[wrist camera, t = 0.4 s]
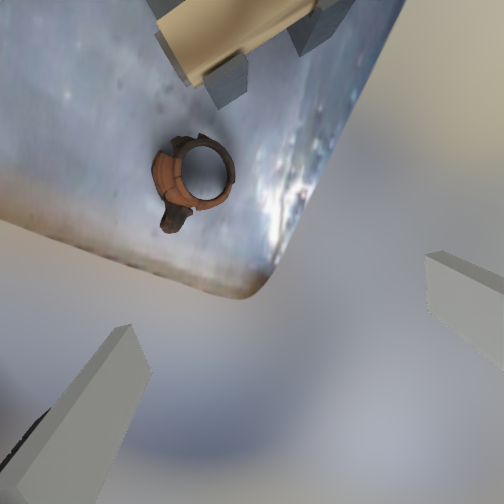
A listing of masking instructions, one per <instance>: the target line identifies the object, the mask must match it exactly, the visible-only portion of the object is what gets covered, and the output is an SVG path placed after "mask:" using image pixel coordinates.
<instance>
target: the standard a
mask: <svg viewBox="0 0 504 504" xmlns="http://www.w3.org/2000/svg"><path fill="white" fill-rule="evenodd" d="M184 1H186V0H171V1H169V2H168V3H167V4H165V5H164V6H162V7H163V9H164V11H165V13H166V14H167V13H169V12H170V11H172V10H173V9H174V8H176V7H177V6H179V5H180V4H181V3H183V2H184ZM247 69H248V61H247V59H246V57H245V55H244V53H243V52H241V53H240V54H238V55H237V56H235V57H234V58H232V59H231V60H229V61H228V62H226V63H225V64H224V65H222V66H221V67H219V68H218V69H216V70H215V71H213V72H212V73H210V74H209V75H207V76H206V77H204V78H203V81H204V83H203V84H204V85H205V87H206V89H207V91H208V93H209V94H210V96H211V98H212V100H213V102H214V103H215V105H216V107H217V109H218V110H219V109H221V108H222V107H224V106H225V105H227V104H228V103H230V102H232V101H233V100H235V99H236V98H238V97H239V96H241V95H242V94H244V93H245V92H247Z"/></svg>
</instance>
